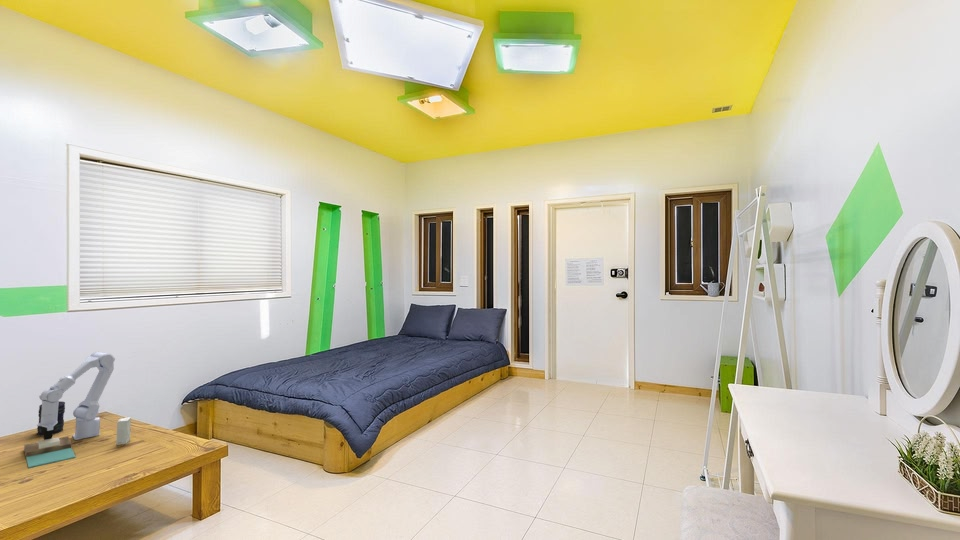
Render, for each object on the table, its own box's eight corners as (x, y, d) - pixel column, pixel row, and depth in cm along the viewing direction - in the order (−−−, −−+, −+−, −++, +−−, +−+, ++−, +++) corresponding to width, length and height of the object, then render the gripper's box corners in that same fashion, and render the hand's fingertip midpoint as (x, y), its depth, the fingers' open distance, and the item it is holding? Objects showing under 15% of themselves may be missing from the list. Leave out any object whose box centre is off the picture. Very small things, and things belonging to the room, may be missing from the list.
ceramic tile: (58, 441, 203) (58, 437, 203) (59, 444, 200) (59, 440, 200) (37, 445, 198) (37, 441, 198) (38, 449, 194) (39, 444, 194)
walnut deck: (67, 441, 209) (68, 436, 209) (71, 448, 202) (71, 443, 202) (24, 449, 197) (24, 444, 198) (26, 457, 190) (26, 452, 190)
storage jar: (53, 427, 224) (55, 400, 225) (68, 429, 223) (70, 402, 223) (31, 434, 215) (33, 406, 215) (46, 436, 213) (49, 408, 213)
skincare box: (126, 444, 210) (128, 420, 210) (115, 445, 208) (116, 421, 208) (130, 439, 216) (132, 416, 216) (119, 440, 214) (121, 417, 214)
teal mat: (71, 448, 201) (71, 447, 201) (75, 457, 193) (75, 456, 193) (26, 458, 190) (26, 456, 190) (28, 468, 181) (28, 466, 181)
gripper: (36, 411, 203) (34, 438, 203) (39, 419, 194) (36, 447, 194) (56, 408, 209) (54, 434, 209) (60, 415, 200) (58, 443, 200)
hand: (47, 440), depth 202 cm, fingers closed
